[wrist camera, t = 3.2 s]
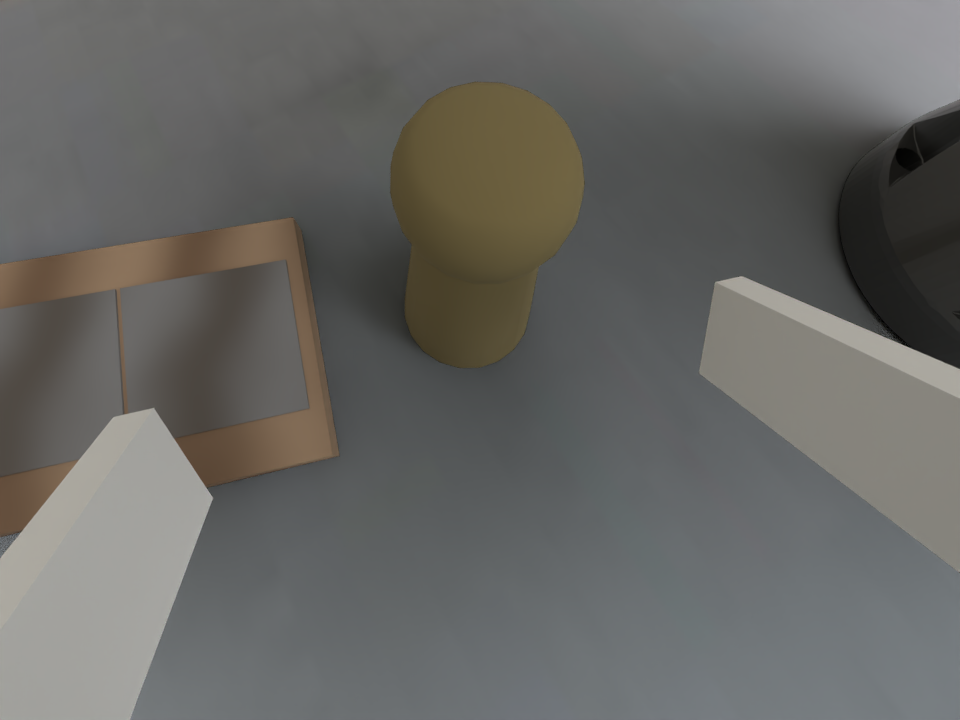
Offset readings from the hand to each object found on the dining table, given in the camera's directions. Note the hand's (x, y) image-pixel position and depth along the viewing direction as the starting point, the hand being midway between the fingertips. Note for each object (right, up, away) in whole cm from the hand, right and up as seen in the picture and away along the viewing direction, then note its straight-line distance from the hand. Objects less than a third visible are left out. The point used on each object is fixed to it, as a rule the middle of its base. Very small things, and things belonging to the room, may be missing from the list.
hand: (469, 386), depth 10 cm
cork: (0, +3, +11) cm, 11 cm away
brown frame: (-18, -1, +8) cm, 19 cm away
